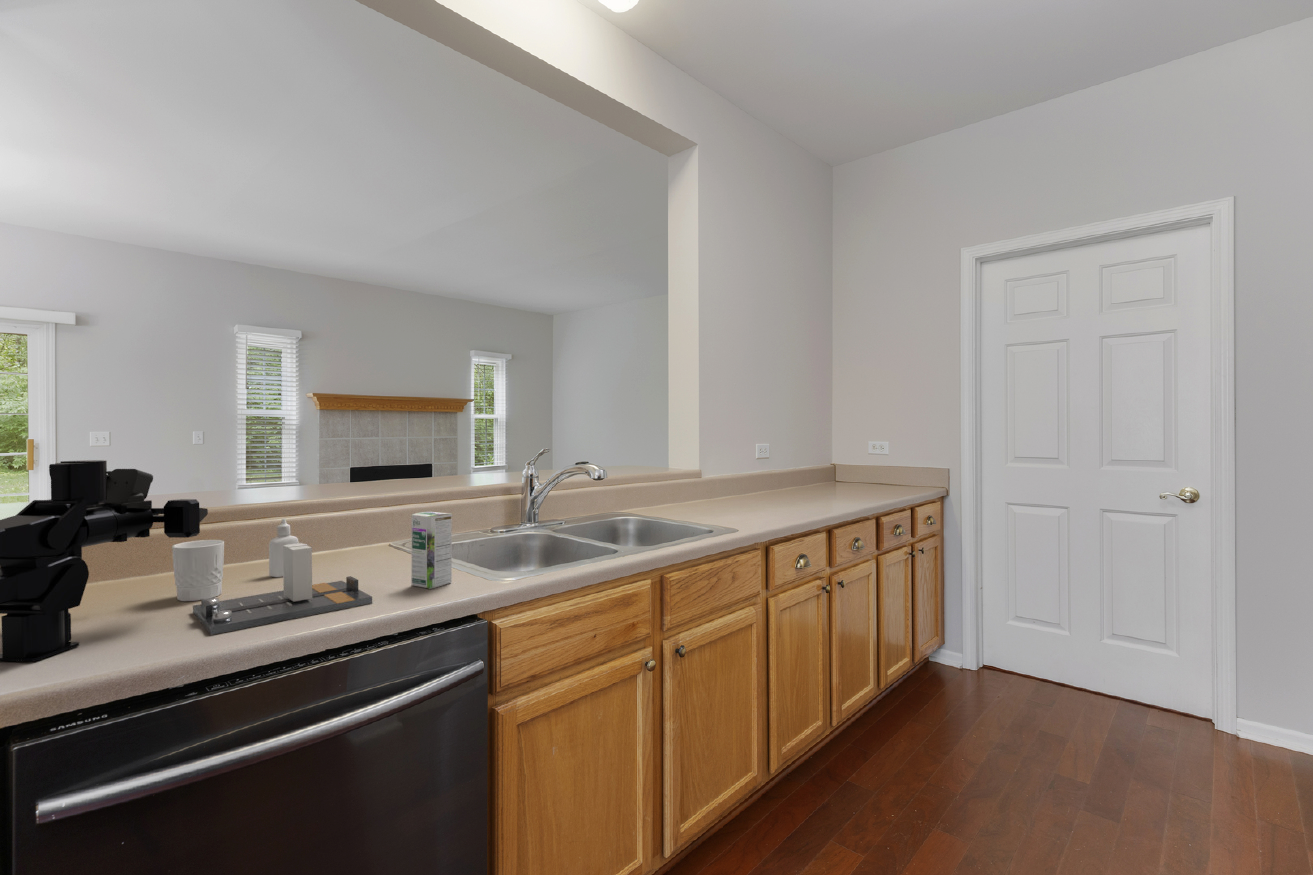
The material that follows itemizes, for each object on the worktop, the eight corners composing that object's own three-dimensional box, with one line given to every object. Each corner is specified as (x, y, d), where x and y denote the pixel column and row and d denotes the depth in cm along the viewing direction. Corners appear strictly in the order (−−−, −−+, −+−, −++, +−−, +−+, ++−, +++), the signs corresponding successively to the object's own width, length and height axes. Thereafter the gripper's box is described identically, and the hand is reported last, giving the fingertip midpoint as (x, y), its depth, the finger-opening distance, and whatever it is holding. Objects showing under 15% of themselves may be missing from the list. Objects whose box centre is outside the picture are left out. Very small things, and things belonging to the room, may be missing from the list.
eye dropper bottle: (268, 574, 133) (267, 519, 133) (298, 570, 136) (297, 516, 136) (269, 578, 130) (269, 521, 129) (300, 574, 133) (300, 519, 133)
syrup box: (410, 586, 124) (409, 513, 123) (433, 579, 129) (432, 510, 129) (430, 589, 121) (429, 515, 121) (453, 582, 126) (452, 512, 126)
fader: (292, 601, 107) (292, 548, 107) (283, 594, 112) (282, 544, 111) (312, 598, 110) (311, 546, 109) (302, 591, 114) (301, 541, 114)
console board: (211, 635, 95) (210, 614, 95) (192, 612, 106) (192, 593, 106) (372, 603, 112) (372, 585, 112) (341, 586, 123) (341, 570, 123)
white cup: (197, 603, 112) (196, 548, 111) (161, 601, 113) (160, 546, 113) (235, 592, 119) (234, 540, 119) (201, 589, 121) (200, 538, 121)
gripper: (156, 473, 96) (231, 467, 112) (43, 473, 97) (133, 467, 113) (157, 545, 96) (232, 528, 112) (44, 544, 97) (134, 528, 113)
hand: (182, 511), depth 112 cm, fingers open, 9 cm apart
